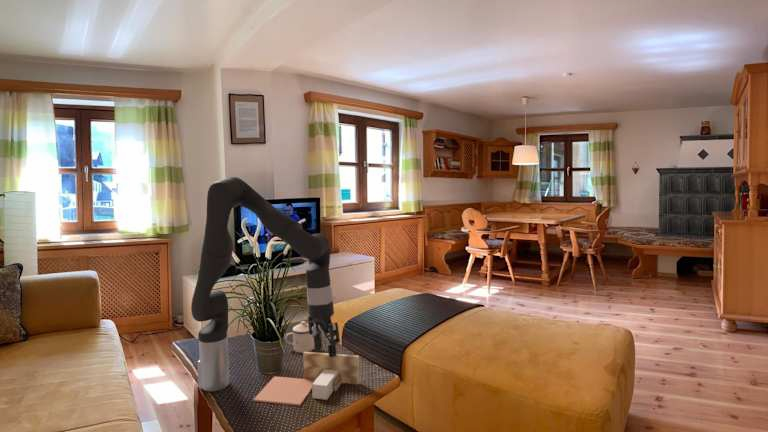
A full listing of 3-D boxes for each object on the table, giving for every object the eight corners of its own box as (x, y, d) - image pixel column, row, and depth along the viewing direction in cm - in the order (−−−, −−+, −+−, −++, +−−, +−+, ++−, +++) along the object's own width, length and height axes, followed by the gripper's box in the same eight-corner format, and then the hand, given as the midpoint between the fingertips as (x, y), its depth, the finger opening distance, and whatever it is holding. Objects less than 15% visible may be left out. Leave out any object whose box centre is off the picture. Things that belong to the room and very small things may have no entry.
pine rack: (297, 388, 151) (296, 360, 149) (305, 378, 158) (304, 351, 157) (354, 393, 147) (353, 364, 146) (359, 382, 154) (358, 355, 153)
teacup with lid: (314, 343, 188) (314, 317, 187) (315, 352, 180) (314, 324, 178) (286, 345, 186) (285, 319, 185) (285, 354, 177) (284, 327, 176)
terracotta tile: (253, 401, 142) (253, 399, 142) (274, 377, 158) (274, 376, 158) (300, 405, 139) (300, 404, 139) (316, 381, 155) (316, 380, 155)
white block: (312, 398, 144) (312, 384, 144) (324, 382, 155) (324, 369, 154) (326, 400, 143) (326, 385, 143) (338, 384, 154) (337, 370, 153)
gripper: (298, 299, 135) (303, 350, 137) (321, 307, 124) (326, 363, 125) (319, 294, 140) (324, 343, 141) (343, 301, 129) (348, 355, 130)
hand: (325, 352), depth 133 cm, fingers open, 8 cm apart
